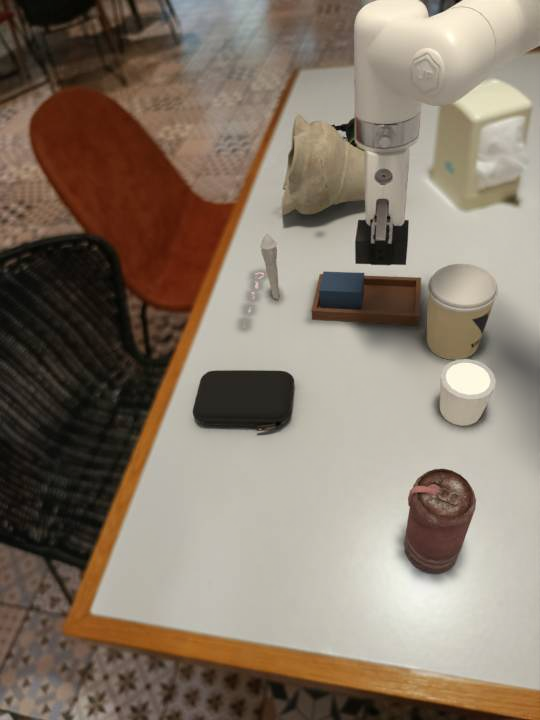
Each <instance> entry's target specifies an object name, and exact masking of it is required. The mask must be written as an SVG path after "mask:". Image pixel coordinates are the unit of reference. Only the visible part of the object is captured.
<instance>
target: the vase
mask: <svg viewBox="0 0 540 720" xmlns="http://www.w3.org/2000/svg"><path fill="white" fill-rule="evenodd" d="M331 125H332V124H329V123H328V122H326V121H322V120H315V121H312V122H308V121H307V120H306V119H305V118H304V116H302V114H300V113H298V112H297V113H296V116H295V118H294V122H293V126H292V131H291V146H290V149H289V152H288V155H287V165H286V173H285V177H284V180H283V181H284V182H283V185H282V190H284V192H283V195H282V198H281V214H282V215H283V216H284V215H287V214H289V213H290V212H292V211H294V210H297V212H299V214H302V215H314V214H317V213H320V212H322V211H323V210H325V209H327V208H329V207H331V206H332V205H334V206H335V205H338V204H341V203H348V202H353V201H355V202H356V201H365V183H364V153H365V152H364V151H362V150H360V149H358V148H356V147H354V146H352V145H351V144H350V143H349V142H348V140H345V139H344V137H343V136H342V135H341V134H340V133H339V130H338V131H337V130H336V129H335V128H334V127H332V126H331Z"/></svg>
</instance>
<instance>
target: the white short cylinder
mask: <svg viewBox="0 0 540 720" xmlns="http://www.w3.org/2000/svg"><path fill="white" fill-rule="evenodd" d="M439 379H440V380H439V383H440V384H439V410H440V414H441V415H442V416H443V418H444V419H445V420H446V421H447V422H449V423H451V424H452V425H455V426H456V425H457V426H459V427H460V426H461V427H463V426H464V427H465V426H472V425H473V424H475V423H477V422H478V421H479V419H480V418H481V417H482V415H483V413H484V411H485V409H486V407H487V406H488V405H487V404H488V402H489V400H490V398H491V397H492V394H493V392H494V390H495V386H496V382H497V380H496V377H495V374H494V371H492V370H491V369H490V367H488V366H487V364H484V363H483V362H480V361H478V360H474V359H470V358H464V359H460V360H452V361H450V362H448V363H447V364H446V365H445V366H444V367H443V368H442V370H441V373H440V376H439Z"/></svg>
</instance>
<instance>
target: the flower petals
mask: <svg viewBox="0 0 540 720" xmlns="http://www.w3.org/2000/svg"><path fill="white" fill-rule="evenodd" d="M259 275H261V276H260V277H259ZM254 277H255V278H257V279H258V280H261V279H262V278H263V277H265V273H264V272H262V271H259V272H255V273H254ZM254 283H255V284H254V289H259V288H260V286H259V285H260V282H259V281H256V280H255V281H254ZM250 295H251V297H252V300H255V299H256V297H255V295H256V293H255V292H254V291H252V292H250ZM251 312H252V308H249V309H248V312H247V313H248V314H250V313H251ZM243 325H245V323H243ZM243 328H247V327H246V326H243Z"/></svg>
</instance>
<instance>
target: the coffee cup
mask: <svg viewBox="0 0 540 720" xmlns="http://www.w3.org/2000/svg"><path fill="white" fill-rule="evenodd" d="M498 291H499V288H498V283H497V282H496V279H495V278H494V276H493V275H492V274H491V273H490V272H489V271H487V270H486V269H484V268H482V267H480V266H477V265H473V264H469V263H454V264H448V265H446V266H443V267H441V268H439V269H437V271H436V272H434V274H433V275H432V276H431V277H430V279H429V281H428V284H427V294H428V296H427V318H426V342H427V343H426V344H427V346H428V349H430V351H431V352H432V353H433V354H435V355H436V356H438V357H440V358H443V359H446V360H452V361H455V360H460V359H468V358H469V357H471V356H472V355H473V354H475V352H476V351H477V350H478V347H479V345H480V343H481V340H482V336H483V334H484V331H485V328H486V326H487V322H488V320H489V318H490V314H491V313H492V312H491V311H492V308H493V305H494V302H495V301H496V299H497V297H498Z"/></svg>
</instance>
